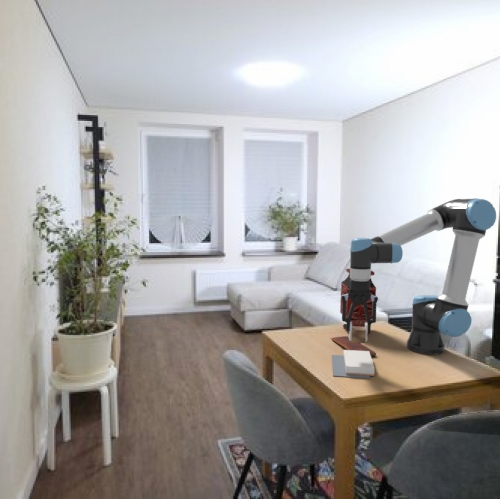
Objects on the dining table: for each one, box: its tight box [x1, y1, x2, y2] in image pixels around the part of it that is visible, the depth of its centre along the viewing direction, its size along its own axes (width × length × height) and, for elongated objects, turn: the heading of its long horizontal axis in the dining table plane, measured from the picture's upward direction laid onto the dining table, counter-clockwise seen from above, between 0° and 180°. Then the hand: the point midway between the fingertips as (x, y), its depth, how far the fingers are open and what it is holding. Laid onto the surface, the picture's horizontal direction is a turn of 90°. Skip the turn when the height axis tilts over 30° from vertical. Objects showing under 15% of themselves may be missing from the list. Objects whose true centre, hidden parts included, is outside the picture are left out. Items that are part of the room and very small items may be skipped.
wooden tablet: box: [331, 335, 377, 357], centre depth 189 cm, size 27×10×2 cm, turn 12°
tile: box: [342, 349, 376, 377], centre depth 167 cm, size 3×18×10 cm
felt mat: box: [331, 354, 371, 379], centre depth 167 cm, size 13×22×1 cm, turn 171°
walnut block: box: [351, 326, 366, 345], centre depth 165 cm, size 5×5×5 cm
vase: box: [339, 268, 377, 334], centre depth 213 cm, size 14×14×30 cm
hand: (358, 339), depth 166 cm, fingers closed on walnut block, 5 cm apart
